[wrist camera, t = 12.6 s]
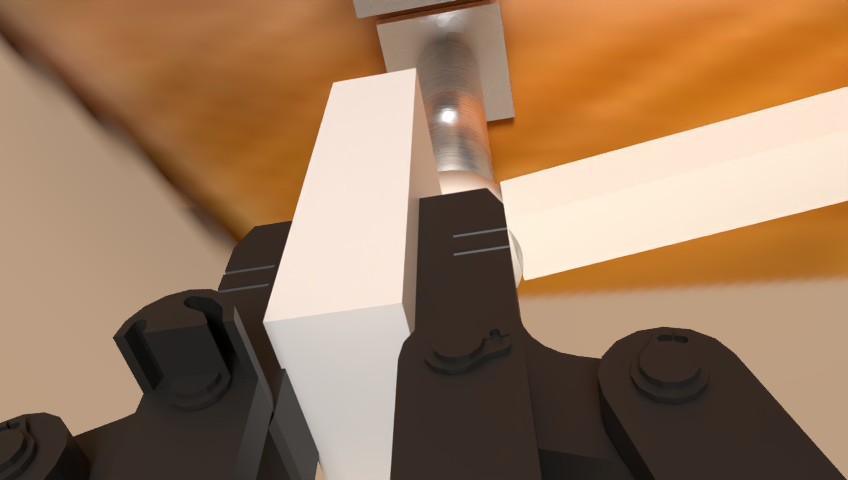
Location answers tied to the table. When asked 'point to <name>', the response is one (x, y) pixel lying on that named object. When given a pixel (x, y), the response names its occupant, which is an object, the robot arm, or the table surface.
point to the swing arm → (674, 186)
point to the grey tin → (388, 6)
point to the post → (455, 77)
